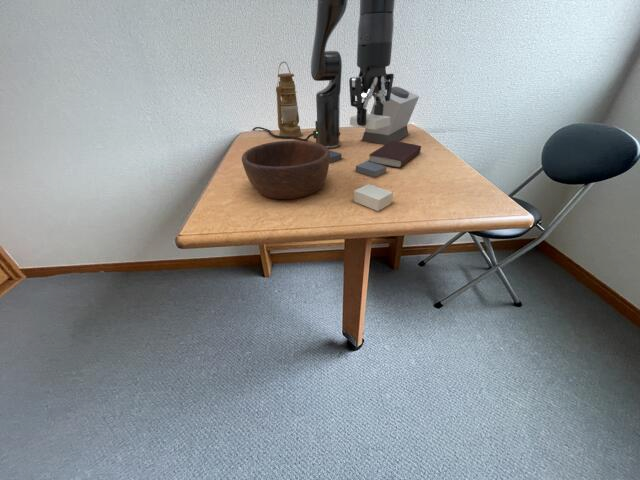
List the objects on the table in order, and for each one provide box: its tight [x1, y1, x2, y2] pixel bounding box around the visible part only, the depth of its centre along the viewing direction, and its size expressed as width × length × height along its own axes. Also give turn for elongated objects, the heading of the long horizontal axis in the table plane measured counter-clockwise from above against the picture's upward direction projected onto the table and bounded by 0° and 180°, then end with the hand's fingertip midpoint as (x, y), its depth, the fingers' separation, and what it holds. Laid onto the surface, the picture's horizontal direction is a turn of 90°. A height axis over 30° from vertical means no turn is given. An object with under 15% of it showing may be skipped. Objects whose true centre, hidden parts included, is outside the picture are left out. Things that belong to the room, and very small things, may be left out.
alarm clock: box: [361, 86, 420, 145], centre depth 119 cm, size 20×16×20 cm
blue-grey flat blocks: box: [329, 149, 387, 178], centre depth 97 cm, size 28×6×2 cm, turn 43°
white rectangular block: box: [353, 183, 394, 212], centre depth 73 cm, size 8×6×3 cm
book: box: [368, 141, 422, 168], centre depth 101 cm, size 12×19×3 cm, turn 145°
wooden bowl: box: [241, 140, 331, 200], centre depth 81 cm, size 25×25×10 cm
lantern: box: [275, 61, 302, 138], centre depth 125 cm, size 15×10×30 cm
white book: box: [349, 113, 390, 130], centre depth 69 cm, size 8×6×2 cm
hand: (369, 122), depth 70 cm, fingers closed on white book, 6 cm apart
